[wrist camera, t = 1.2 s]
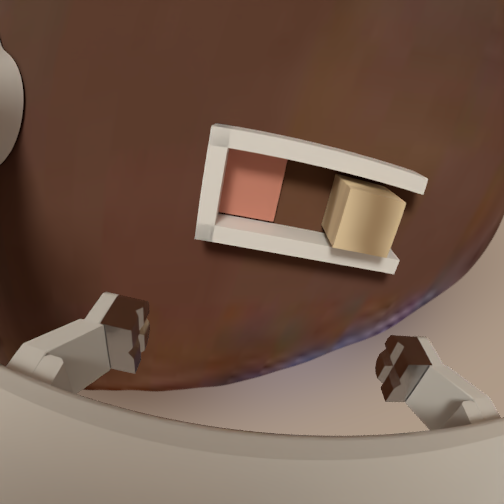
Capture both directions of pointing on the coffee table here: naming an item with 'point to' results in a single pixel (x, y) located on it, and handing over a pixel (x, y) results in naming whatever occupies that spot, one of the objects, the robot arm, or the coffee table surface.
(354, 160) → the channel
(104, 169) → the coffee table surface
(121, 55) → the coffee table surface
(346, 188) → the block
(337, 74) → the coffee table surface
